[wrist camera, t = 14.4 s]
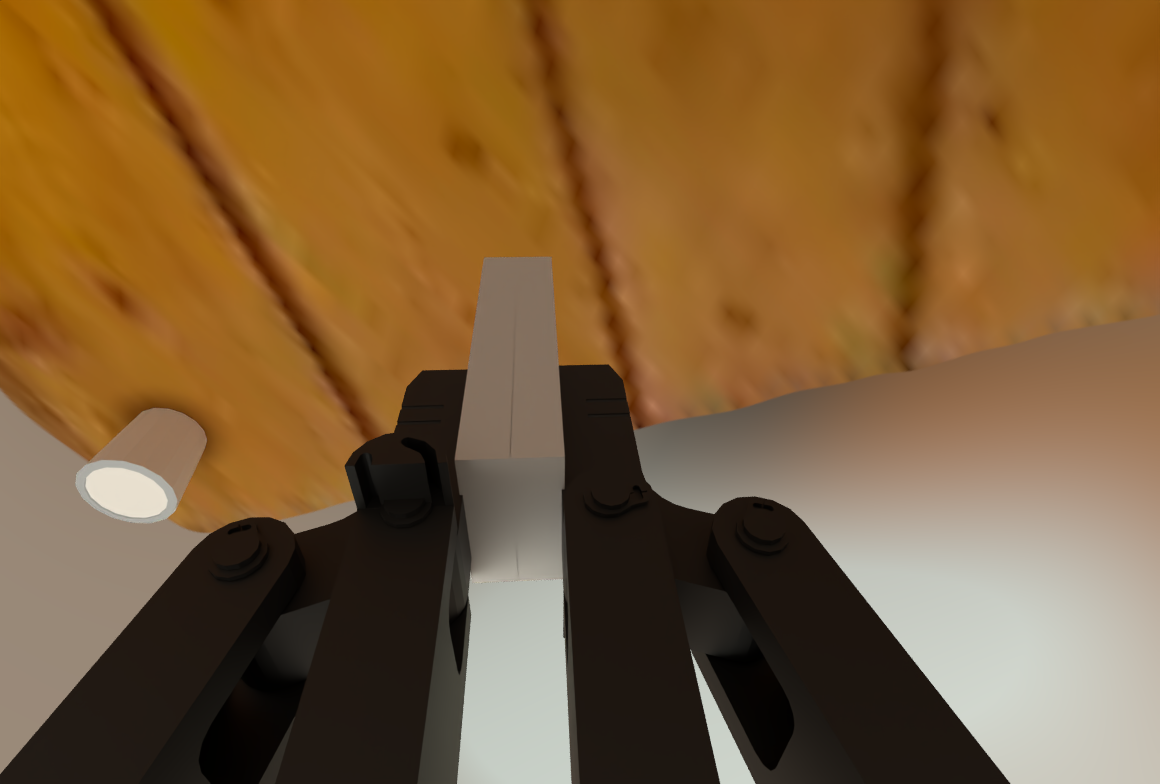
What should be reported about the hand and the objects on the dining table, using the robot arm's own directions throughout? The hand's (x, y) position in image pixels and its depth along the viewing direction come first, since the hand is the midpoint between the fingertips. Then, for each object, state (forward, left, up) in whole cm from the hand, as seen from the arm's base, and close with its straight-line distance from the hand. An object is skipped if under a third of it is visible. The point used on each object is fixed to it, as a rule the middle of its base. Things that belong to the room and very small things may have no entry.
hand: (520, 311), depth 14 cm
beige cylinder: (+31, +27, -29) cm, 50 cm away
